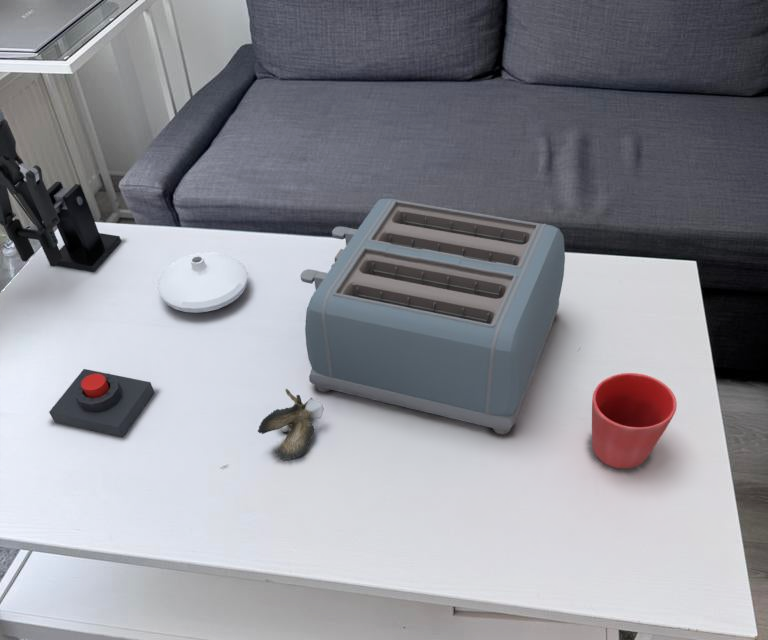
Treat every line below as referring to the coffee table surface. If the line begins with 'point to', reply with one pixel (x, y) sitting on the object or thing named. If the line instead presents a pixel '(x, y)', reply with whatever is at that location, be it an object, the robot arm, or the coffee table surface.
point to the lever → (31, 232)
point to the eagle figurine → (293, 425)
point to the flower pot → (629, 418)
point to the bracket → (81, 232)
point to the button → (95, 385)
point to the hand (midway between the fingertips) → (42, 259)
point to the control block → (103, 404)
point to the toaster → (436, 311)
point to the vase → (202, 282)
